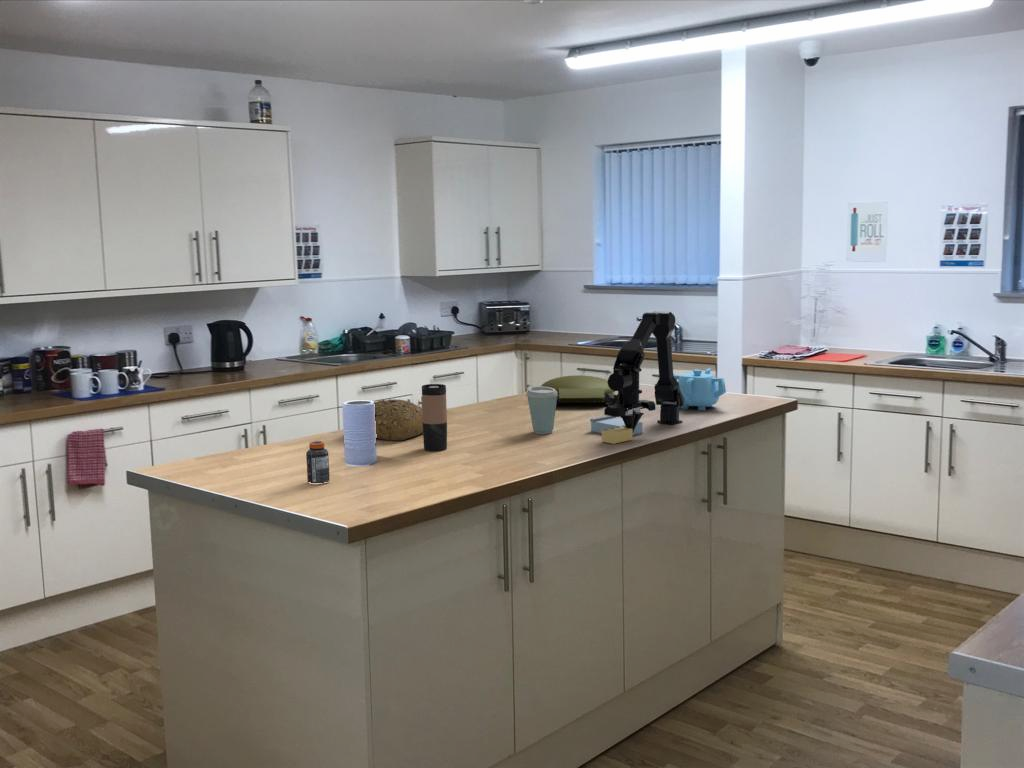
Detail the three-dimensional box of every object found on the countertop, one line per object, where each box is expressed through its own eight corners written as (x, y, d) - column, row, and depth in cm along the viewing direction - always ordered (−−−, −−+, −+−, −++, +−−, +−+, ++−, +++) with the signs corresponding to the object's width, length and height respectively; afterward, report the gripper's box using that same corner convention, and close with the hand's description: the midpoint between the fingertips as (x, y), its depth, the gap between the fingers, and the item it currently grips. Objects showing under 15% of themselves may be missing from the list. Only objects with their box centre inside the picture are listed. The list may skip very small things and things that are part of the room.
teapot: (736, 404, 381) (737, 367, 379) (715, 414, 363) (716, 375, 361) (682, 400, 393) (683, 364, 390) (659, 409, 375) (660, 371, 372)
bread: (437, 431, 340) (436, 396, 338) (406, 444, 321) (404, 407, 319) (376, 426, 350) (375, 392, 348) (342, 438, 330) (340, 402, 329)
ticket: (612, 426, 343) (612, 414, 342) (643, 432, 332) (643, 419, 332) (589, 431, 336) (589, 418, 335) (620, 437, 325) (620, 424, 324)
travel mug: (451, 447, 314) (450, 384, 311) (441, 452, 307) (440, 388, 304) (429, 445, 317) (427, 383, 314) (419, 450, 310) (417, 387, 307)
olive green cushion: (622, 409, 377) (623, 383, 375) (541, 410, 377) (541, 385, 375) (612, 394, 411) (612, 370, 410) (538, 395, 411) (537, 371, 410)
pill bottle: (308, 480, 275) (307, 440, 274) (330, 479, 276) (329, 439, 274) (306, 485, 269) (304, 444, 268) (328, 485, 270) (326, 444, 268)
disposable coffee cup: (564, 431, 335) (564, 387, 333) (543, 437, 327) (543, 392, 325) (541, 427, 342) (540, 384, 340) (519, 432, 335) (519, 388, 332)
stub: (620, 437, 324) (620, 426, 324) (632, 439, 321) (632, 428, 320) (601, 441, 319) (601, 430, 318) (613, 443, 315) (613, 432, 314)
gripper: (631, 381, 333) (630, 427, 335) (591, 387, 321) (591, 435, 323) (656, 384, 325) (656, 431, 327) (617, 391, 313) (617, 440, 315)
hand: (630, 434), depth 323 cm, fingers closed
